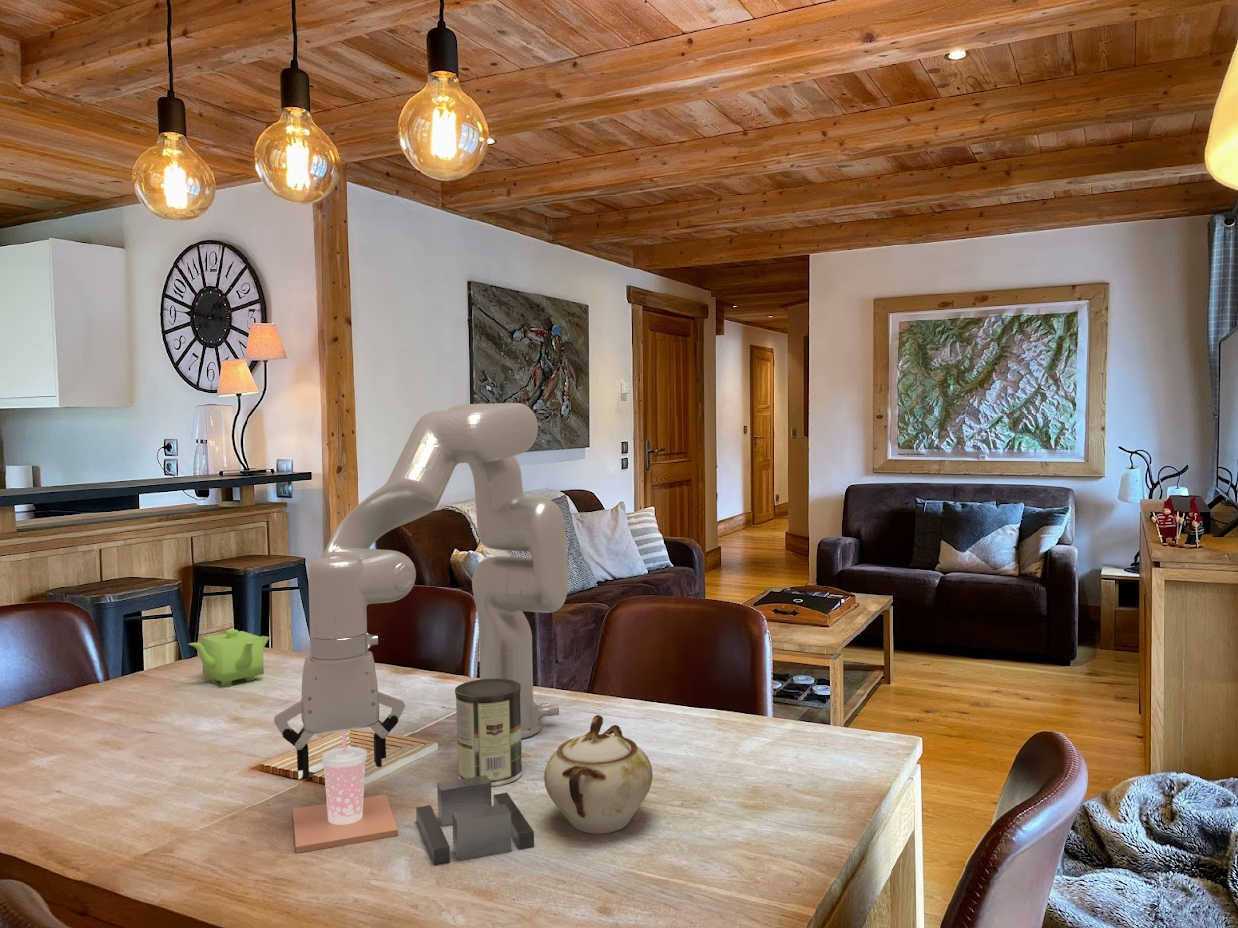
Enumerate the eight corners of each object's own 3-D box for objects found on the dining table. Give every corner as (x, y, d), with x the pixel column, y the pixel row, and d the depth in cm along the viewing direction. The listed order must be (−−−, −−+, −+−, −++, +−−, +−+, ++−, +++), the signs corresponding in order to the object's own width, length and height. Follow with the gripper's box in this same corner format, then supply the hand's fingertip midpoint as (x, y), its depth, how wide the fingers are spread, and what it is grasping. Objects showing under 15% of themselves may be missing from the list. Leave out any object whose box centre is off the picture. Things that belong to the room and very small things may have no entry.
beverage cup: (360, 827, 123) (358, 724, 123) (315, 826, 124) (313, 724, 123) (374, 809, 130) (372, 711, 129) (331, 808, 130) (330, 711, 130)
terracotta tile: (385, 799, 135) (385, 794, 135) (398, 835, 123) (397, 829, 123) (292, 814, 130) (292, 808, 130) (295, 852, 118) (295, 846, 118)
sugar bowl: (629, 860, 115) (627, 742, 114) (520, 845, 119) (518, 732, 119) (669, 799, 133) (667, 698, 133) (573, 788, 138) (571, 690, 137)
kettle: (254, 688, 196) (252, 637, 195) (187, 691, 195) (185, 639, 194) (276, 670, 211) (275, 622, 210) (213, 672, 210) (212, 624, 209)
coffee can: (496, 758, 151) (494, 674, 151) (535, 774, 144) (534, 686, 144) (443, 775, 144) (441, 687, 144) (482, 793, 137) (480, 700, 136)
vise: (507, 805, 132) (506, 771, 132) (534, 846, 119) (533, 808, 119) (416, 821, 127) (415, 786, 127) (434, 865, 114) (433, 825, 114)
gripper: (399, 635, 132) (402, 751, 133) (271, 647, 126) (275, 769, 127) (406, 646, 125) (409, 769, 126) (272, 659, 119) (276, 788, 120)
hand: (342, 769), depth 126 cm, fingers open, 9 cm apart
